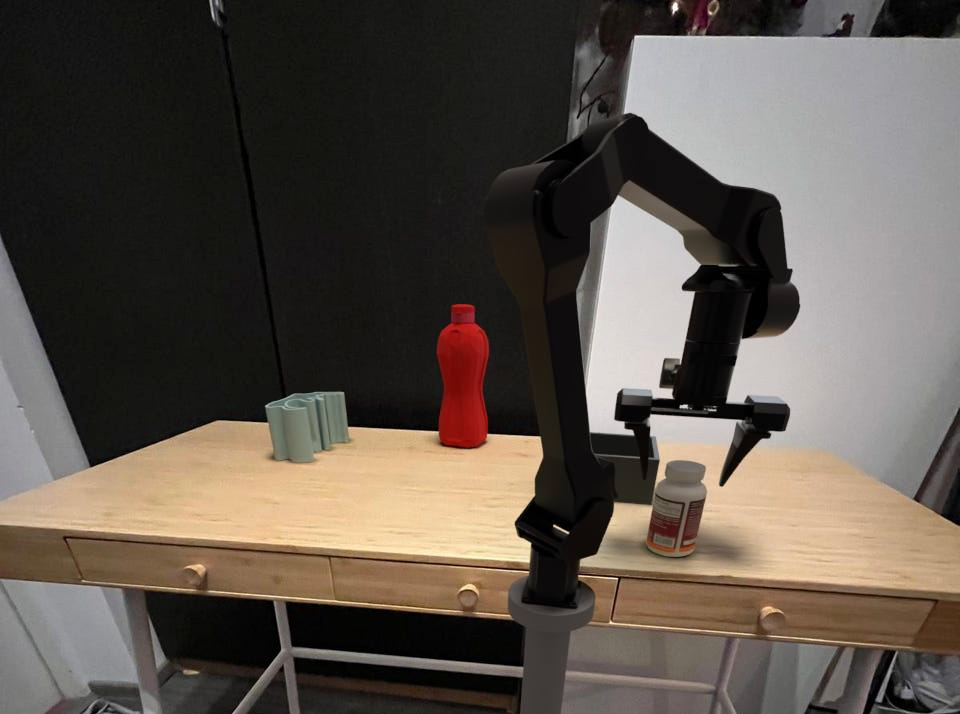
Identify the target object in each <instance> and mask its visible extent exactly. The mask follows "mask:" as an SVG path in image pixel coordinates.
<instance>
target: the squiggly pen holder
mask: <svg viewBox="0 0 960 714" xmlns="http://www.w3.org/2000/svg"><path fill="white" fill-rule="evenodd" d="M264 407H265V413H266V419H267V424H268V429H269V435H270V440H271V445H272V451H273V457H274V460H275V461H283V460H284V461H285V460H290V461H291V462H292V463H296V464H300V463H301V464H303V463H311V462H314V461H315V456H314V453H319V452H322V451H323V450H324V451H330V450H331V444H334V443H337V444H342V443H346V444H347V443H349V442H350V435H349V425H348V416H347V407H346V397H345V392H343V391H314V392H310V393H292V394H290V395H289V396H287V397H285V398H282V399H279V400H275V401H271V402H269V403H267V404H266V405H264Z"/></svg>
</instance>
